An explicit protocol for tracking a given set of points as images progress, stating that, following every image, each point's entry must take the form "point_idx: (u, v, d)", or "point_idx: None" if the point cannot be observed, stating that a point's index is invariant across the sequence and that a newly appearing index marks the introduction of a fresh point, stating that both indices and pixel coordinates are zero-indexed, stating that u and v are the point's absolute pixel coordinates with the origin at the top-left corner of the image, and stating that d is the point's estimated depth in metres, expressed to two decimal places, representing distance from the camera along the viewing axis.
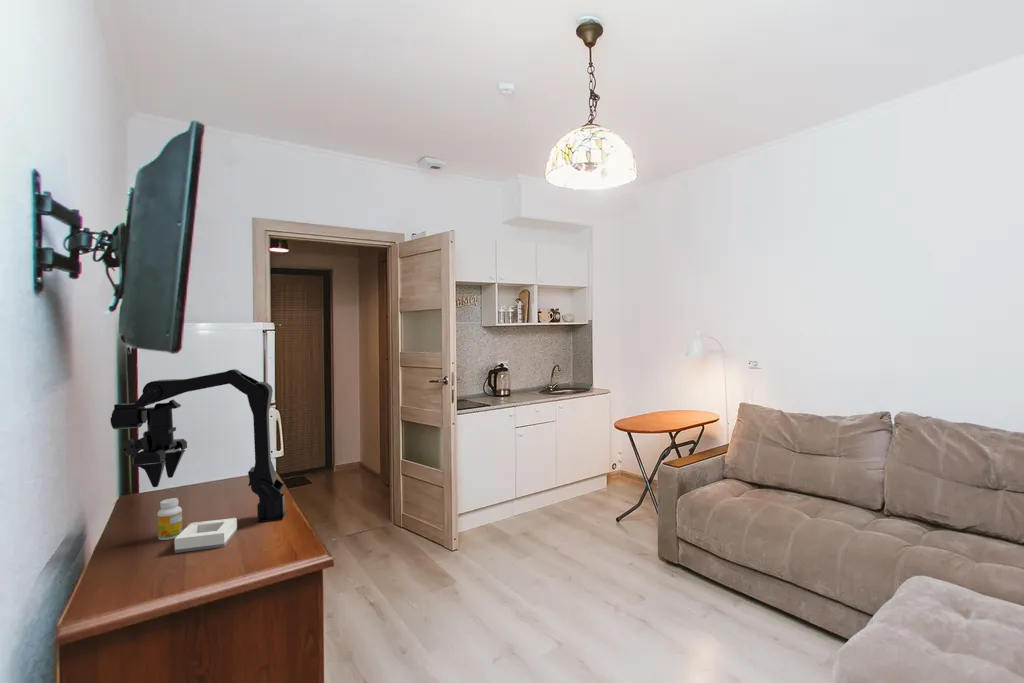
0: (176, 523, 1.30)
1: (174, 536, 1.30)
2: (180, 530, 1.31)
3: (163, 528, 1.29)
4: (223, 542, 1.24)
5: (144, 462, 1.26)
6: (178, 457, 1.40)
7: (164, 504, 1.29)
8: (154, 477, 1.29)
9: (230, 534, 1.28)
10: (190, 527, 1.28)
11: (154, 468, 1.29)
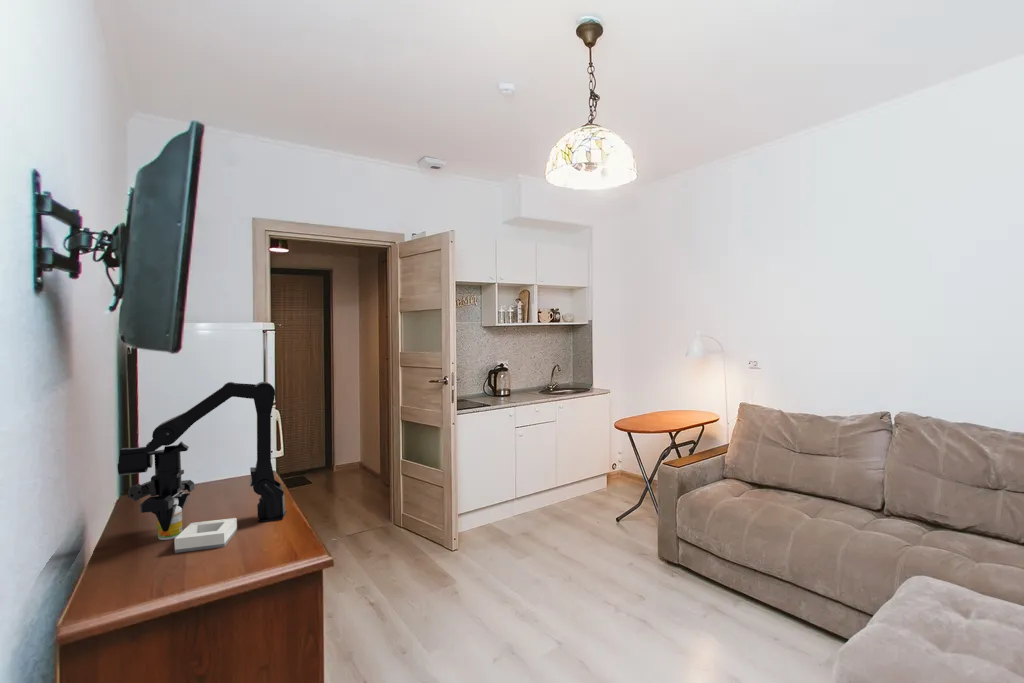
0: (176, 523, 1.30)
1: (174, 536, 1.30)
2: (180, 530, 1.31)
3: None
4: (223, 542, 1.24)
5: (152, 510, 1.22)
6: (183, 502, 1.35)
7: None
8: (165, 521, 1.28)
9: (230, 534, 1.28)
10: (190, 527, 1.28)
11: (165, 512, 1.28)
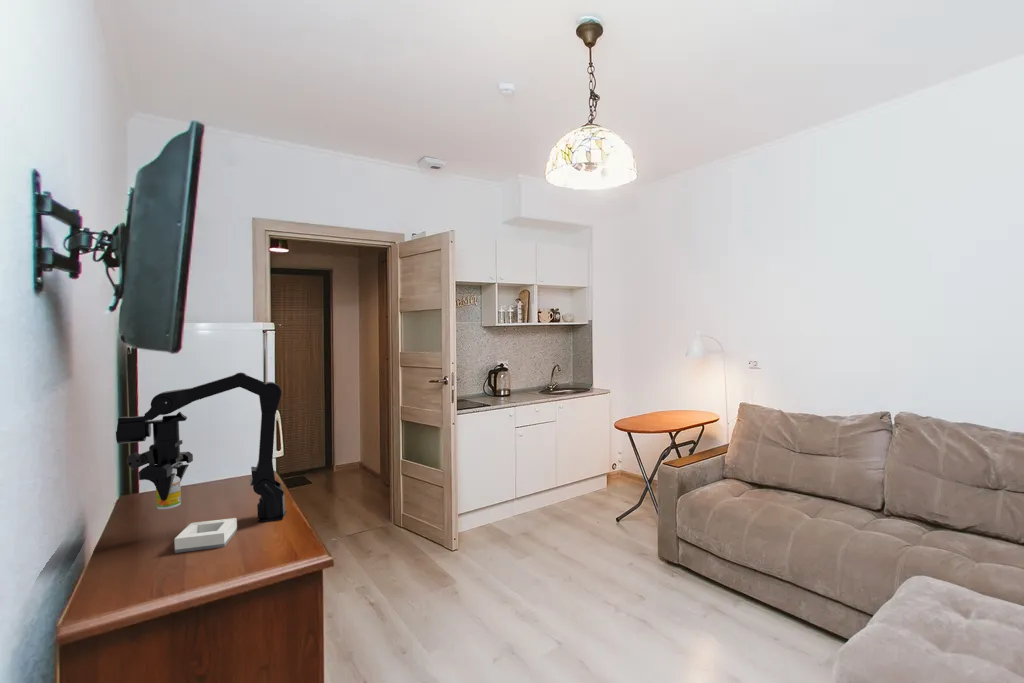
0: (174, 492, 1.30)
1: (172, 505, 1.30)
2: (178, 500, 1.31)
3: None
4: (223, 542, 1.24)
5: (151, 477, 1.22)
6: (181, 472, 1.35)
7: None
8: (163, 490, 1.28)
9: (230, 534, 1.28)
10: (190, 527, 1.28)
11: (163, 481, 1.27)
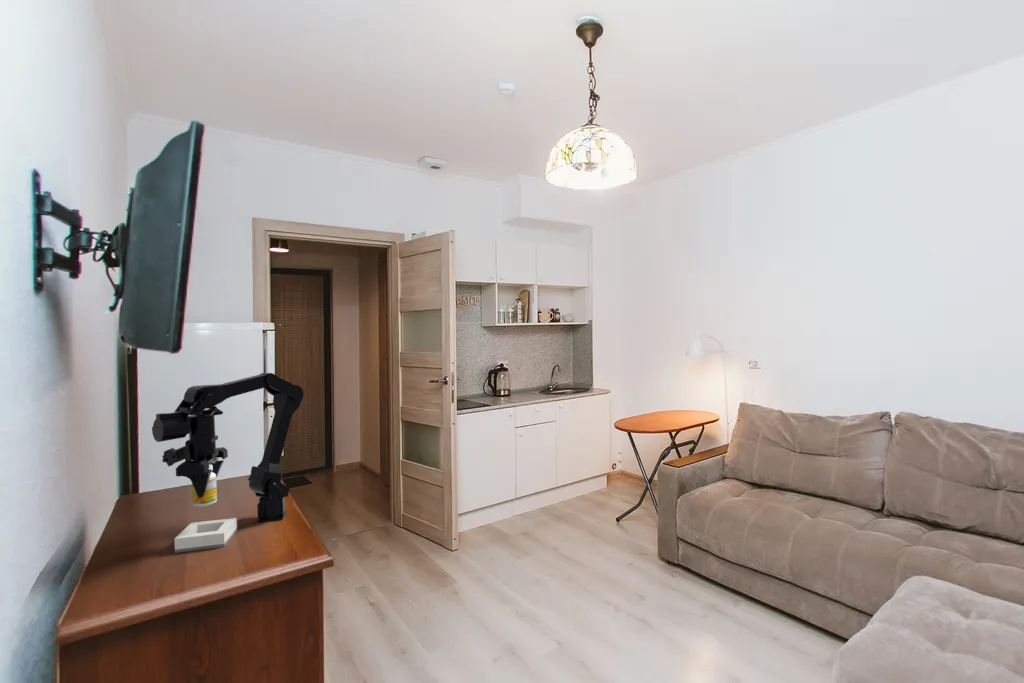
0: (211, 489, 1.26)
1: (209, 502, 1.26)
2: (215, 497, 1.28)
3: None
4: (223, 542, 1.24)
5: (188, 473, 1.18)
6: (217, 468, 1.31)
7: None
8: (200, 487, 1.24)
9: (230, 534, 1.28)
10: (190, 527, 1.28)
11: (200, 478, 1.24)
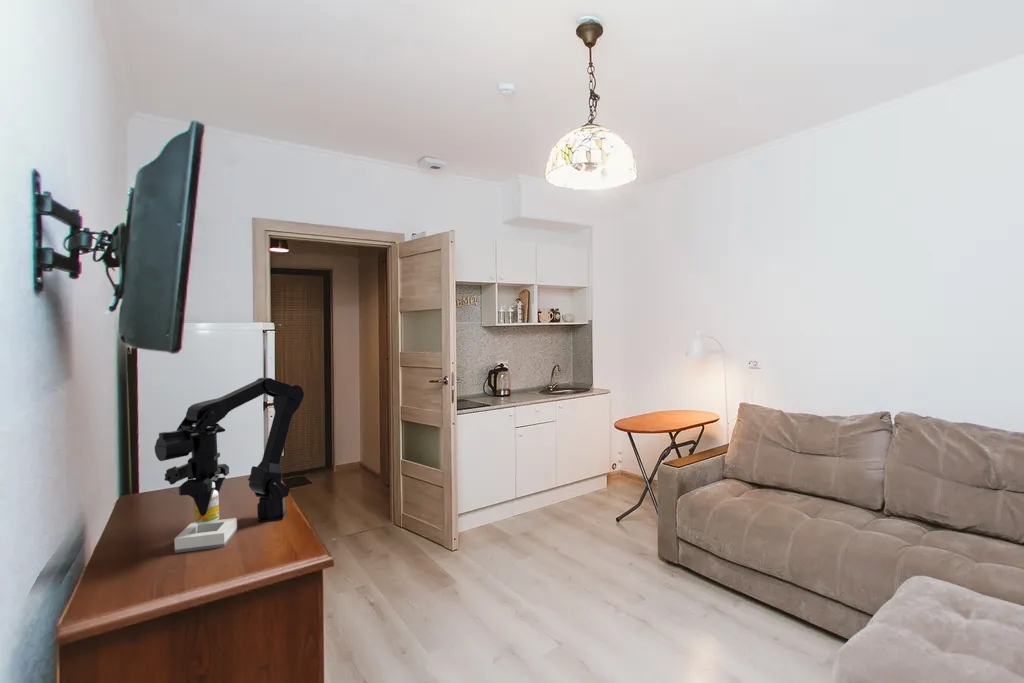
0: (213, 507, 1.26)
1: (211, 520, 1.26)
2: (217, 514, 1.28)
3: None
4: (223, 542, 1.24)
5: (191, 492, 1.18)
6: (219, 486, 1.31)
7: None
8: (202, 505, 1.24)
9: (230, 534, 1.28)
10: (190, 527, 1.28)
11: (202, 496, 1.24)
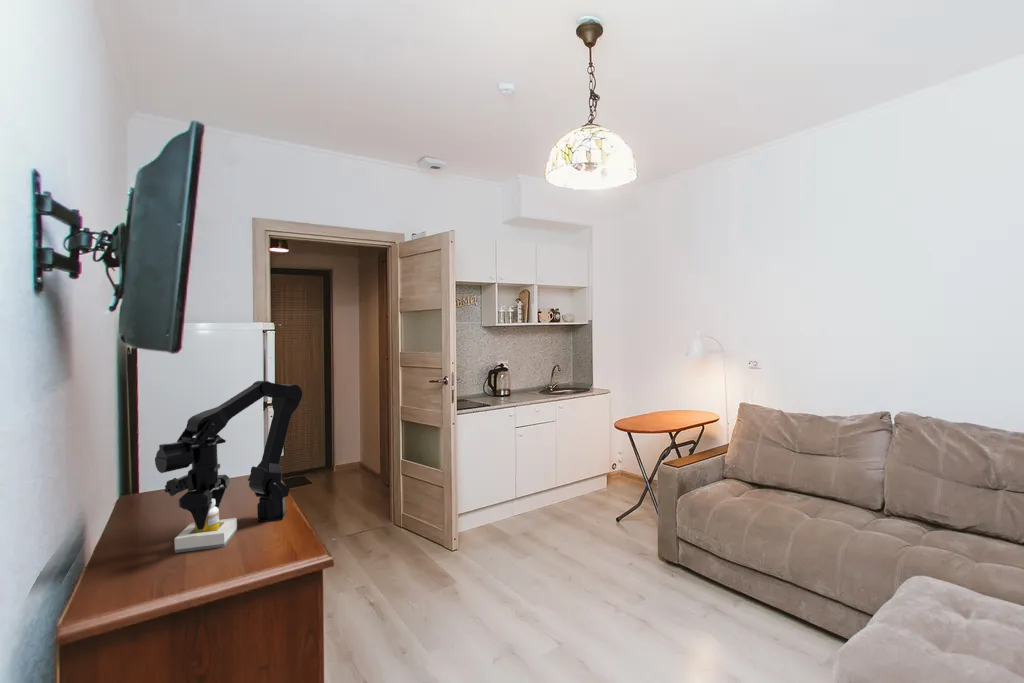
0: (214, 524, 1.26)
1: None
2: None
3: None
4: (223, 542, 1.24)
5: (191, 504, 1.18)
6: (221, 495, 1.33)
7: None
8: (200, 519, 1.22)
9: (230, 534, 1.28)
10: (190, 527, 1.28)
11: (200, 510, 1.22)
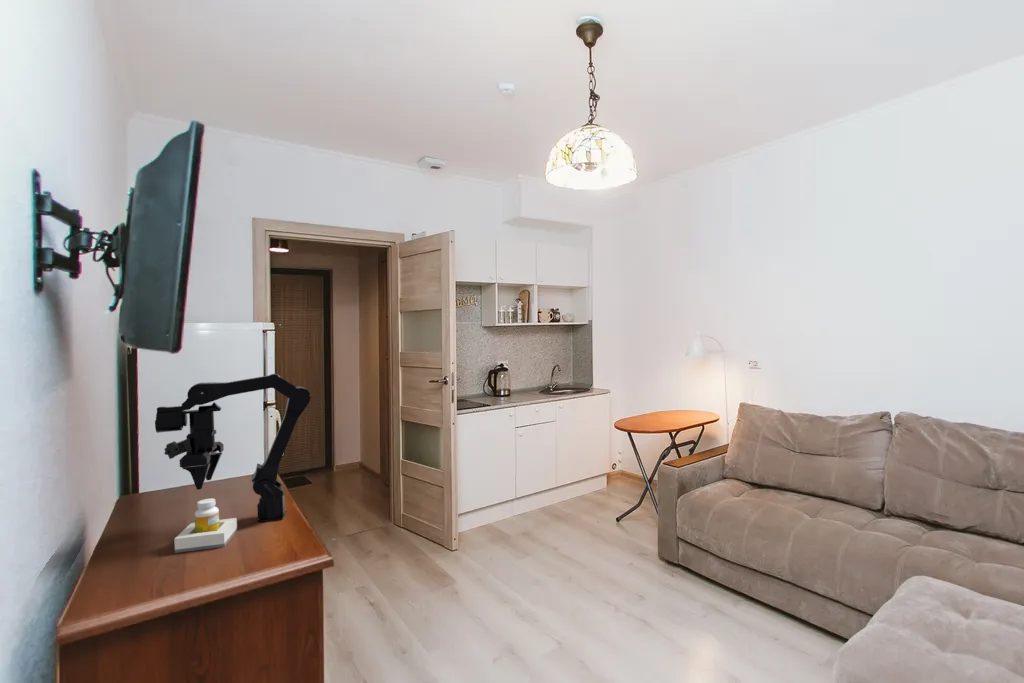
0: (214, 524, 1.26)
1: None
2: None
3: (200, 529, 1.25)
4: (223, 542, 1.24)
5: (191, 464, 1.27)
6: (216, 460, 1.41)
7: (202, 504, 1.26)
8: (199, 479, 1.30)
9: (230, 534, 1.28)
10: (190, 527, 1.28)
11: (199, 470, 1.30)
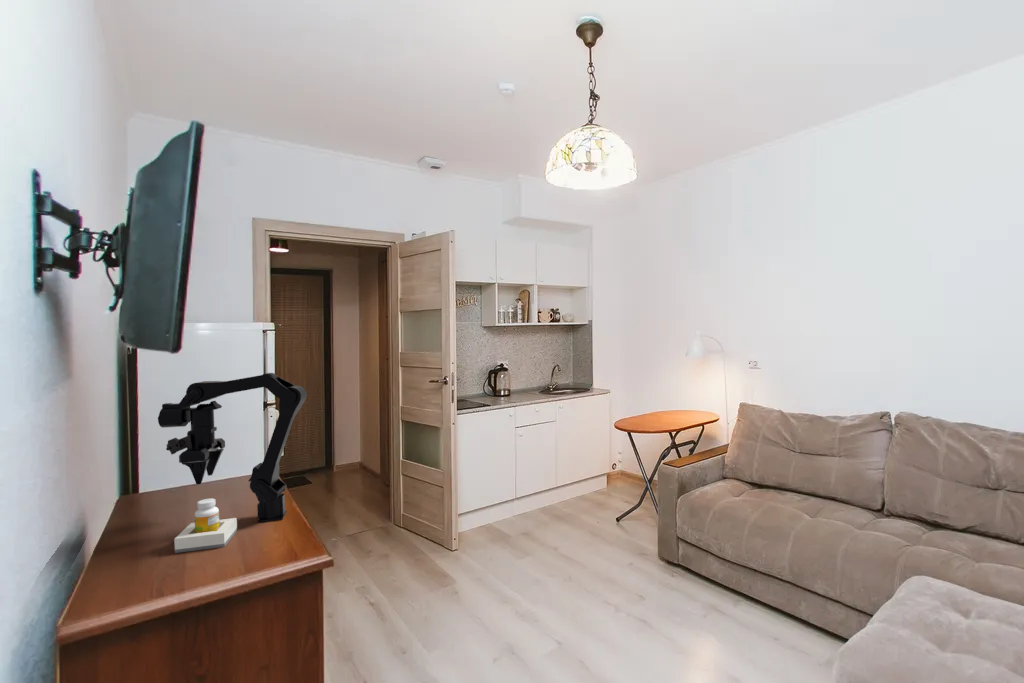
0: (214, 524, 1.26)
1: None
2: None
3: (200, 529, 1.25)
4: (223, 542, 1.24)
5: (190, 460, 1.31)
6: (217, 456, 1.46)
7: (202, 504, 1.26)
8: (198, 475, 1.35)
9: (230, 534, 1.28)
10: (190, 527, 1.28)
11: (198, 466, 1.35)
